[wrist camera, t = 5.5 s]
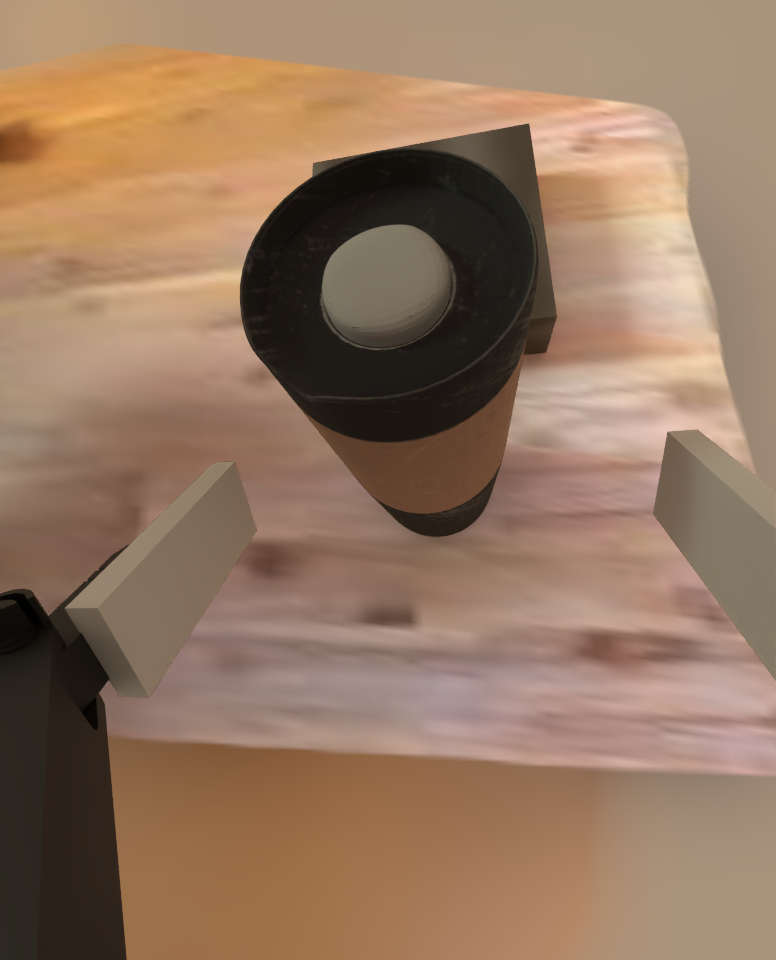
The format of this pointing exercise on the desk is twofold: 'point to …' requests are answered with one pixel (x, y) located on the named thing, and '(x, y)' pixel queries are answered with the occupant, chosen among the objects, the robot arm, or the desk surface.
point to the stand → (516, 166)
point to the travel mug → (400, 323)
